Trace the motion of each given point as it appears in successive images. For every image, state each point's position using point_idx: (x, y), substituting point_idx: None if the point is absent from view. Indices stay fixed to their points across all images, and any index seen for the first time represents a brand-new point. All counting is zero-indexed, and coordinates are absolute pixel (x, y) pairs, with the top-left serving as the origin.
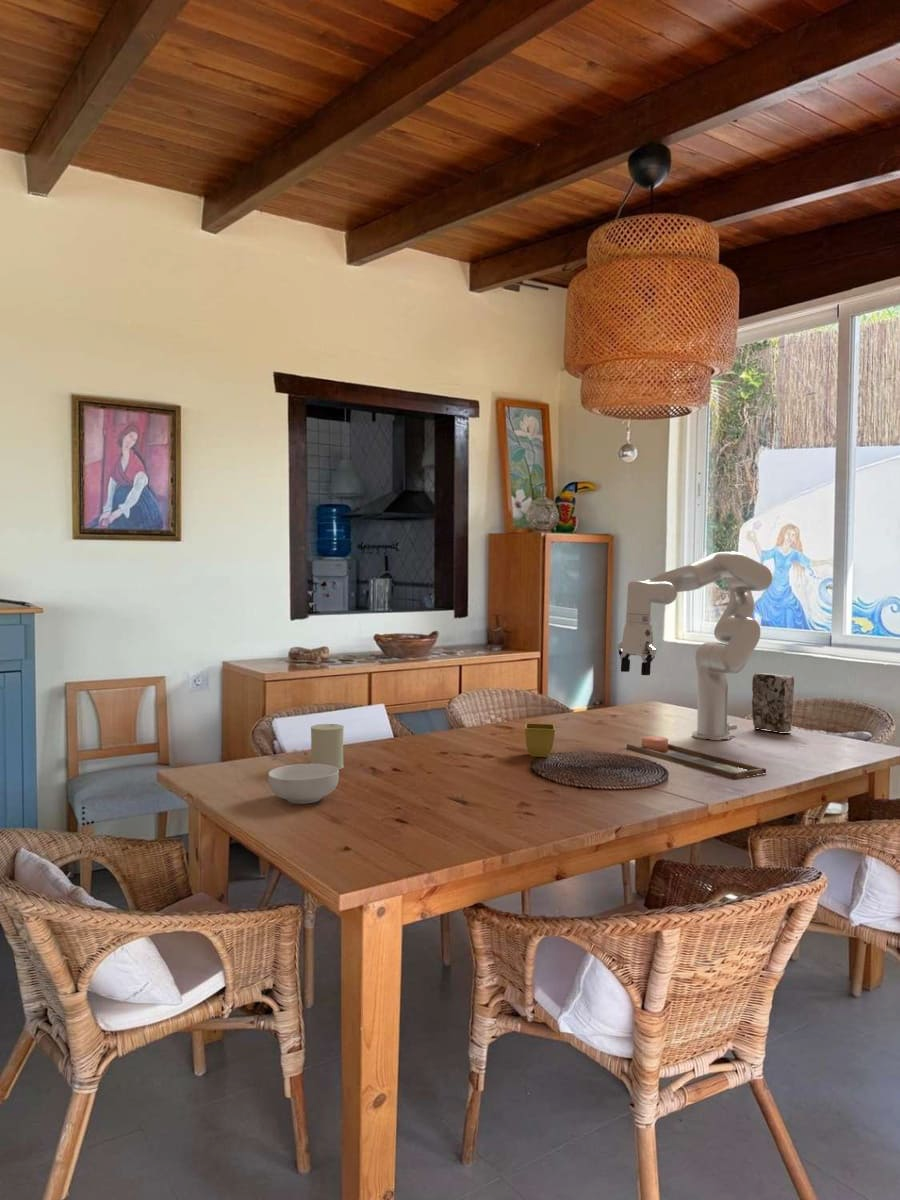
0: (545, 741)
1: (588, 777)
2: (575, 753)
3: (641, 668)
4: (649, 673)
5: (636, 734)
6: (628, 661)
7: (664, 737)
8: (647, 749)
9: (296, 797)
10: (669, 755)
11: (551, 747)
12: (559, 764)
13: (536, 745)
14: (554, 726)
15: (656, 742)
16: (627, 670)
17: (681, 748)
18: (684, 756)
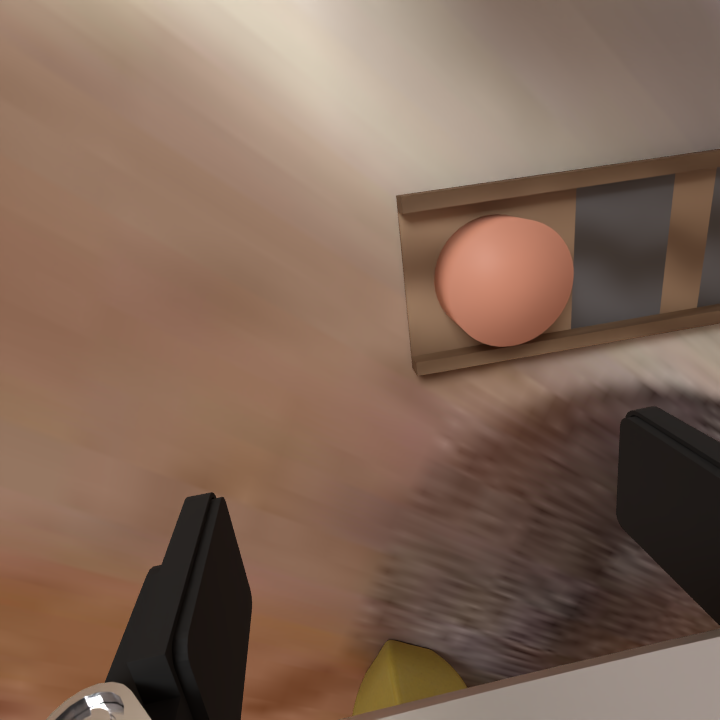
0: None
1: (671, 625)
2: (409, 563)
3: (678, 581)
4: (661, 421)
5: (82, 115)
6: (205, 651)
7: (511, 220)
8: (543, 350)
9: None
10: (668, 329)
11: (460, 677)
12: (520, 643)
13: None
14: None
15: (559, 311)
16: (229, 535)
17: (592, 185)
18: (646, 227)
